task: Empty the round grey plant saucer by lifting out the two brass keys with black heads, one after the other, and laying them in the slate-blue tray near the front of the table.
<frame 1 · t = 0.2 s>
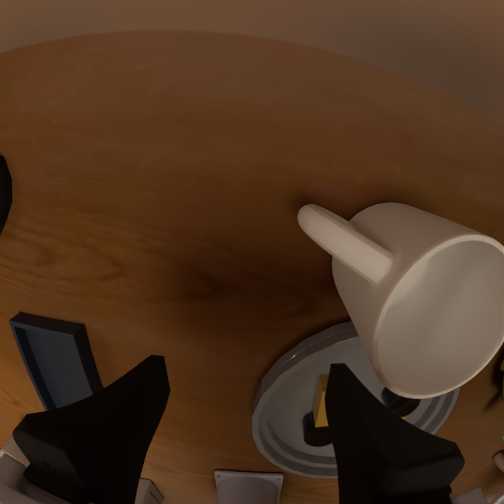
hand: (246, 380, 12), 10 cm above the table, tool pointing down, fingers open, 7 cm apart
cosmetics box: (127, 483, 32), on the table
tray: (70, 382, 26), on the table
key 2: (325, 393, 24), resting on round grey plant saucer
mug: (364, 243, 21), on the table
pill bottle: (45, 433, 31), on the table
key 1: (387, 416, 24), resting on round grey plant saucer
round grey plant saucer: (357, 402, 24), on the table
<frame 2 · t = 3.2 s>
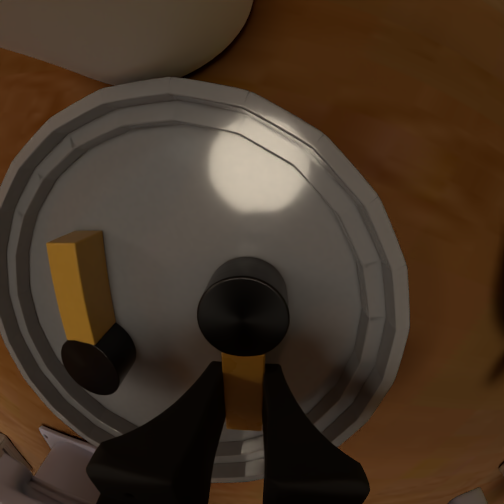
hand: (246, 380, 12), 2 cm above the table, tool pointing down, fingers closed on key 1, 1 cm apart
key 2: (94, 277, 13), resting on round grey plant saucer
mug: (132, 3, 10), on the table
key 1: (247, 365, 13), point 1 cm above the table, touching round grey plant saucer, gripper
round grey plant saucer: (171, 318, 13), on the table
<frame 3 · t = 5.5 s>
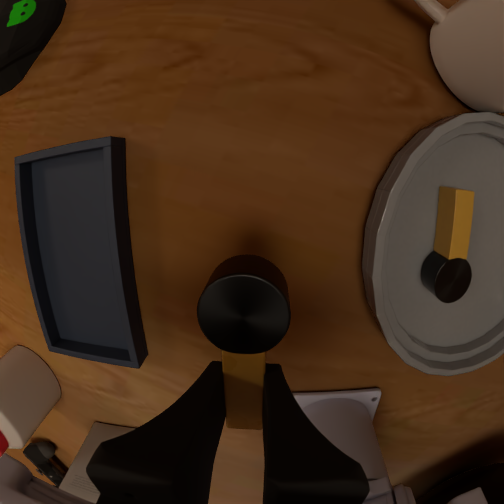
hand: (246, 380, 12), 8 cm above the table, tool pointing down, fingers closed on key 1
ball: (446, 485, 28), on the table
gaming controller: (61, 461, 31), on the table
cosmetics box: (145, 444, 26), on the table
tray: (80, 255, 20), on the table
key 2: (445, 219, 17), resting on round grey plant saucer
mug: (451, 47, 14), on the table
pill bottle: (35, 374, 25), on the table
key 1: (247, 363, 13), point 7 cm above the table, touching gripper
round grey plant saucer: (474, 246, 18), on the table
computer mouse: (3, 46, 16), on the table
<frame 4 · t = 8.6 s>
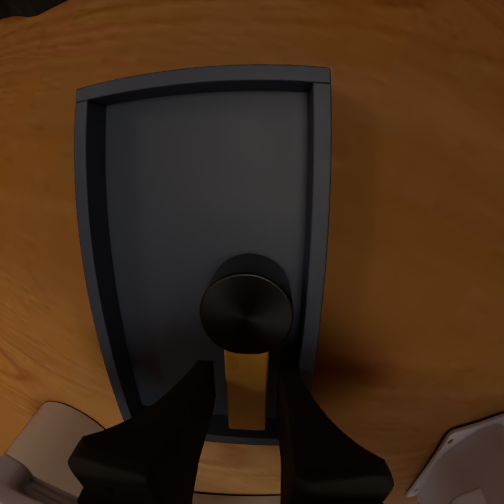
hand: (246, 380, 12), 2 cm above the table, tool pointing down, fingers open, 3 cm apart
tray: (204, 279, 13), on the table
pill bottle: (81, 436, 17), on the table
key 1: (250, 364, 13), resting on tray
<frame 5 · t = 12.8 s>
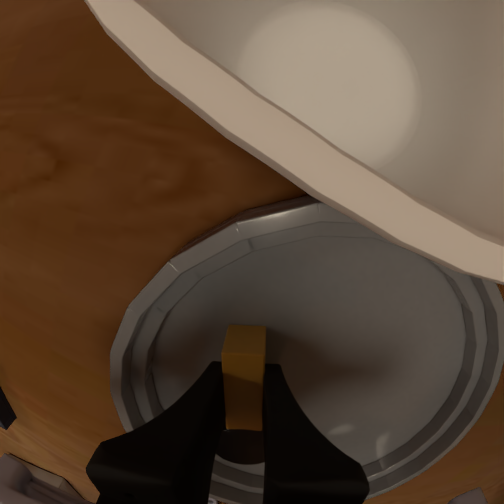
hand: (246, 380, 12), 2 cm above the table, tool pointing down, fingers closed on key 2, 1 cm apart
cosmetics box: (47, 478, 22), on the table
key 2: (247, 365, 13), point 1 cm above the table, touching round grey plant saucer, gripper
mug: (288, 61, 10), on the table
round grey plant saucer: (317, 390, 14), on the table
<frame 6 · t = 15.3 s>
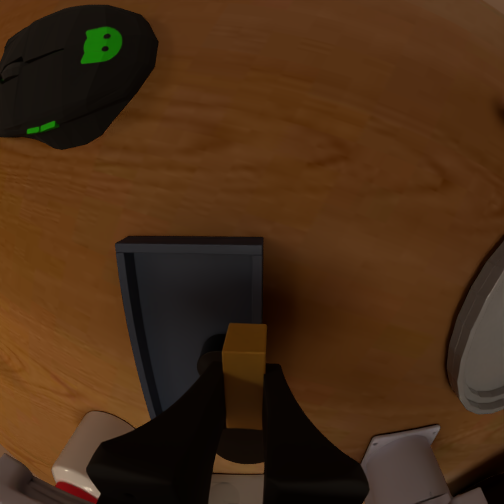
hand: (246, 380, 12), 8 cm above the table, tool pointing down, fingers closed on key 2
ball: (467, 490, 29), on the table
cosmetics box: (230, 484, 28), on the table
tray: (199, 344, 22), on the table
key 2: (247, 364, 13), point 7 cm above the table, touching gripper
pill bottle: (115, 434, 26), on the table
key 1: (226, 388, 22), resting on tray
computer mouse: (61, 80, 17), on the table
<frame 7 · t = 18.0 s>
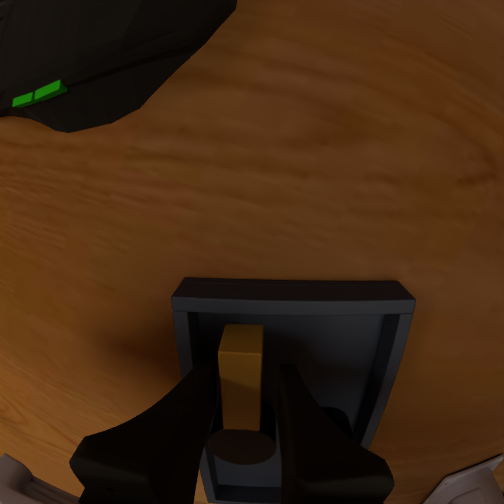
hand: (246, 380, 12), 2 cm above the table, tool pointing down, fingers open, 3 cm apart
tray: (283, 417, 15), on the table
key 2: (244, 364, 13), resting on tray
key 1: (311, 460, 15), resting on tray
computer mouse: (72, 29, 10), on the table
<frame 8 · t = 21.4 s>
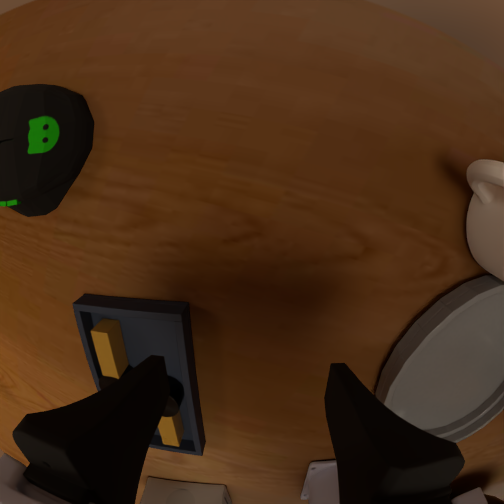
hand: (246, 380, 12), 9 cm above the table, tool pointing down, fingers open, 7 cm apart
cosmetics box: (191, 491, 30), on the table
tray: (147, 379, 24), on the table
key 2: (116, 341, 23), resting on tray
mug: (485, 207, 18), on the table
key 1: (173, 415, 25), resting on tray
round grey plant saucer: (462, 366, 22), on the table
computer mouse: (22, 151, 19), on the table
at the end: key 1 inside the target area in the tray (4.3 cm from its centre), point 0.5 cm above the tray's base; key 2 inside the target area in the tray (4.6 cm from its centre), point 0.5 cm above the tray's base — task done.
